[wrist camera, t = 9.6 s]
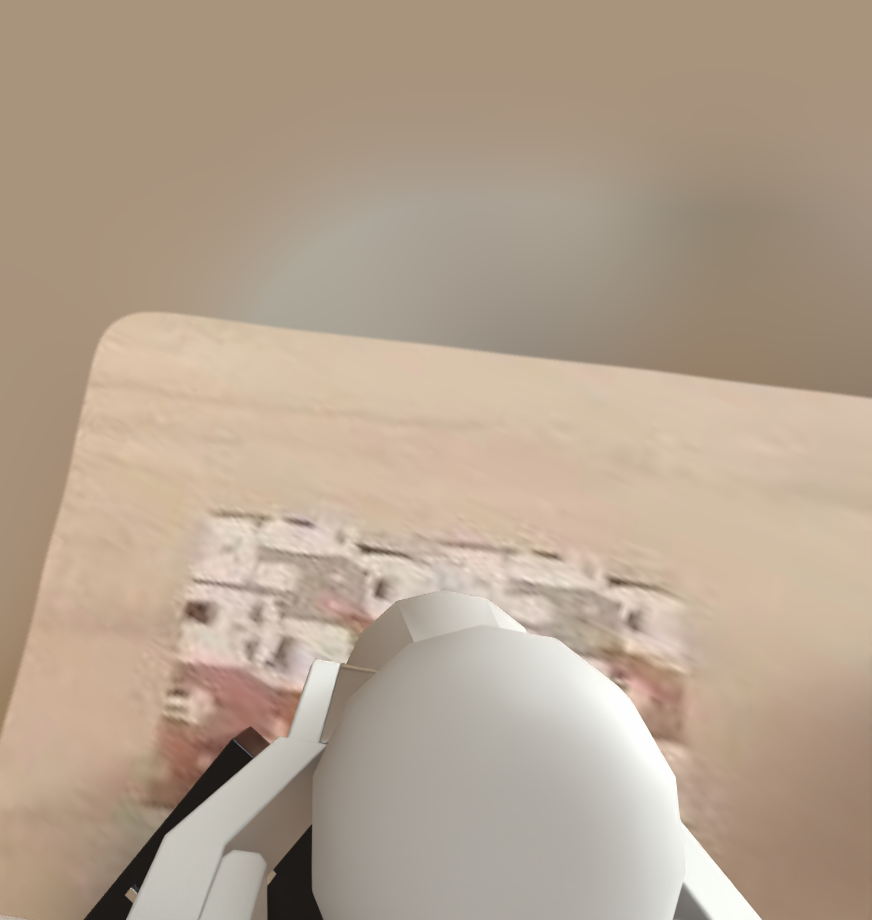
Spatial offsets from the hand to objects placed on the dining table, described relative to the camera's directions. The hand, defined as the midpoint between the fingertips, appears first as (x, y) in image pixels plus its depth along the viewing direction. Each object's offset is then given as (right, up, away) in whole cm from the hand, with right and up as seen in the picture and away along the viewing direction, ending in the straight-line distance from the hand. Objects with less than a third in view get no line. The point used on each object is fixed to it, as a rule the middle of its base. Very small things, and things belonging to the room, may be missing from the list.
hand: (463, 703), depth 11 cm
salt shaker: (0, -3, +8) cm, 8 cm away
